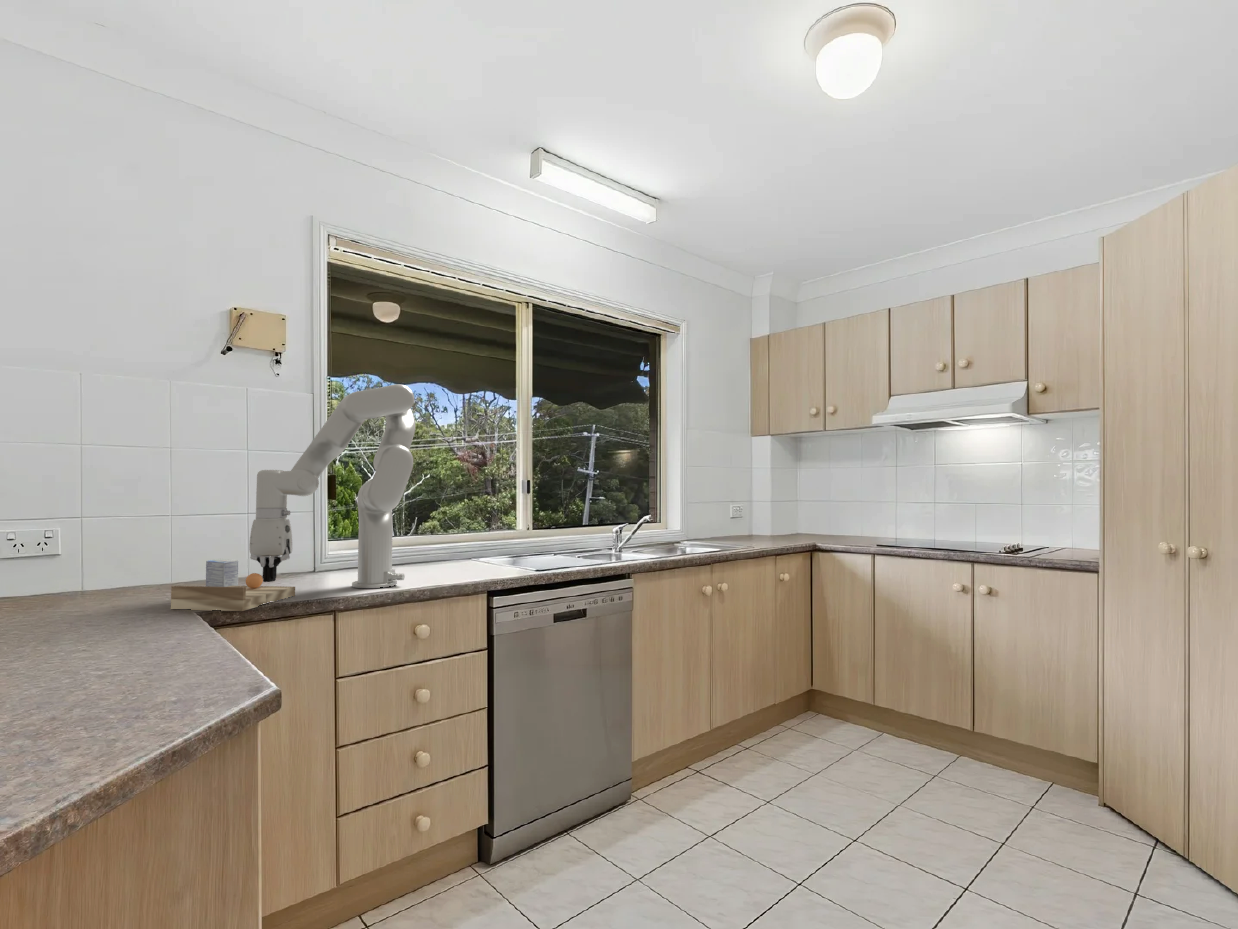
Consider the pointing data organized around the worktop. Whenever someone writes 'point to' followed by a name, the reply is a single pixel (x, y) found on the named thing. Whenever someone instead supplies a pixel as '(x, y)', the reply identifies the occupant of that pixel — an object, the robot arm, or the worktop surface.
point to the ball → (254, 580)
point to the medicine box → (221, 573)
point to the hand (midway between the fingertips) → (269, 581)
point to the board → (226, 597)
